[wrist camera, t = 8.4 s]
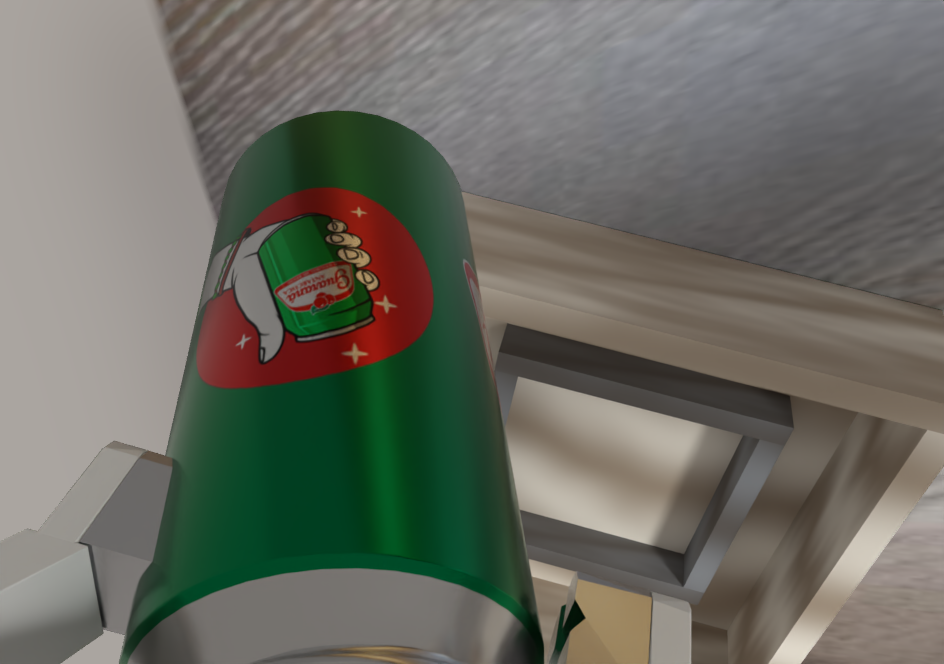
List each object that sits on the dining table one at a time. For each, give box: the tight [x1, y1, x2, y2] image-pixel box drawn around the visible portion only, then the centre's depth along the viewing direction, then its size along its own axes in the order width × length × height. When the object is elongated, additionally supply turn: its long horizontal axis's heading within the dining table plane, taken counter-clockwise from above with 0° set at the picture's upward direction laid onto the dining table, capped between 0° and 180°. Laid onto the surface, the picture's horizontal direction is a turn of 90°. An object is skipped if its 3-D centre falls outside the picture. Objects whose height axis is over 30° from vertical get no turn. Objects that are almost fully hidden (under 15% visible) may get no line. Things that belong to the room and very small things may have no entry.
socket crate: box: [462, 192, 944, 664], centre depth 38 cm, size 22×20×6 cm
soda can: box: [119, 111, 544, 664], centre depth 14 cm, size 5×5×12 cm
